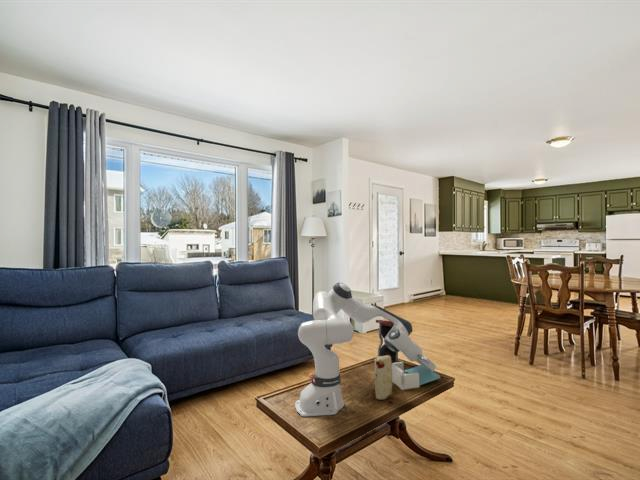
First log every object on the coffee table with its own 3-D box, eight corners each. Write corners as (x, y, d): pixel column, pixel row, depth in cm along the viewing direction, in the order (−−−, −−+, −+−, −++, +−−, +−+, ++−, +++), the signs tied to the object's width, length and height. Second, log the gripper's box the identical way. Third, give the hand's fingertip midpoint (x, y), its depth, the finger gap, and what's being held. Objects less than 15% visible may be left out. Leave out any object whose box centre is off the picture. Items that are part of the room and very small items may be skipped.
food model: (380, 403, 152) (379, 359, 152) (371, 397, 157) (370, 355, 158) (396, 397, 157) (395, 355, 157) (387, 392, 162) (385, 351, 163)
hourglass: (387, 361, 205) (388, 320, 210) (407, 366, 192) (408, 322, 197) (367, 361, 196) (370, 319, 201) (387, 367, 183) (389, 320, 188)
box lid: (419, 382, 167) (439, 375, 170) (403, 370, 183) (422, 364, 186) (420, 386, 167) (440, 379, 170) (404, 374, 183) (422, 367, 186)
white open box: (402, 389, 164) (401, 371, 165) (386, 376, 181) (386, 360, 181) (419, 387, 167) (418, 369, 167) (402, 374, 183) (402, 358, 183)
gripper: (428, 354, 166) (445, 370, 169) (407, 342, 186) (423, 357, 188) (420, 363, 165) (438, 380, 168) (400, 351, 185) (416, 366, 187)
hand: (430, 368), depth 178 cm, fingers closed
